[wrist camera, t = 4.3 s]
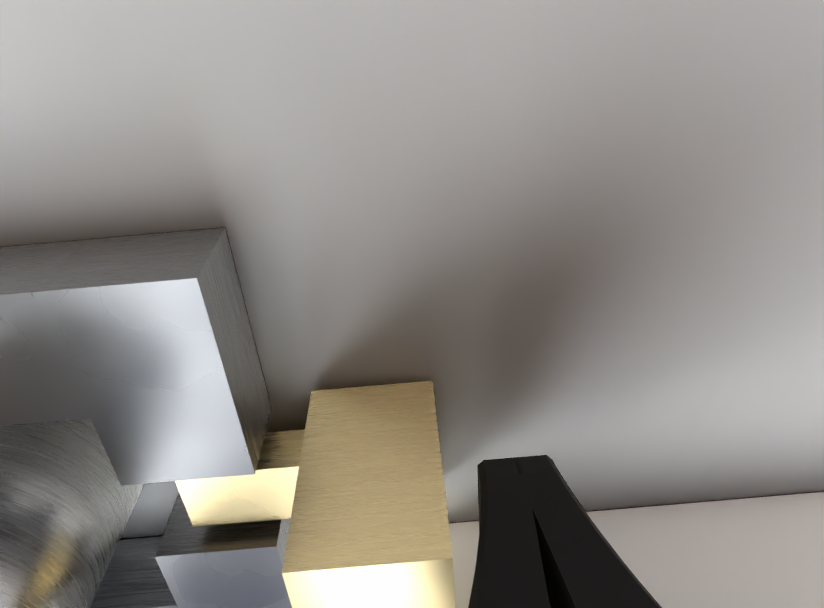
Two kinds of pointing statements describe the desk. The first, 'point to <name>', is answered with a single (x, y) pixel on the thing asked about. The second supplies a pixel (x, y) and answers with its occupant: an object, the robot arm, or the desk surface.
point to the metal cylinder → (57, 513)
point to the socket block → (149, 397)
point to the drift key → (349, 500)
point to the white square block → (703, 551)
